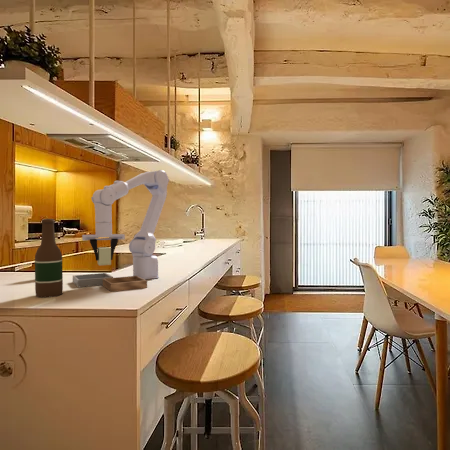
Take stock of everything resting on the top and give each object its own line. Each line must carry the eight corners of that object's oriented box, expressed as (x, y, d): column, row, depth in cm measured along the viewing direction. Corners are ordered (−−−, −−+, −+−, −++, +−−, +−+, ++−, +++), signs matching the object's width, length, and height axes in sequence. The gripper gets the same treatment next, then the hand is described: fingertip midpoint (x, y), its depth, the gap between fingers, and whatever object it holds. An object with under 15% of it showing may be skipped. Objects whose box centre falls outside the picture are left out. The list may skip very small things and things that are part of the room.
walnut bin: (136, 282, 137) (136, 275, 137) (147, 287, 127) (147, 280, 127) (102, 285, 131) (102, 278, 131) (111, 291, 121) (111, 283, 121)
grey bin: (105, 279, 145) (105, 272, 145) (113, 283, 135) (113, 277, 135) (72, 282, 139) (72, 275, 139) (78, 287, 129) (77, 280, 129)
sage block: (111, 264, 133) (110, 248, 133) (99, 265, 131) (99, 248, 131) (109, 263, 136) (108, 247, 136) (97, 264, 135) (97, 247, 135)
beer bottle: (68, 293, 118) (67, 218, 118) (49, 298, 111) (48, 218, 111) (49, 292, 121) (47, 218, 120) (29, 296, 114) (28, 219, 113)
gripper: (123, 222, 140) (124, 257, 140) (82, 222, 135) (83, 259, 135) (125, 222, 133) (125, 259, 133) (81, 222, 128) (82, 261, 128)
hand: (104, 259), depth 134 cm, fingers closed on sage block, 4 cm apart
